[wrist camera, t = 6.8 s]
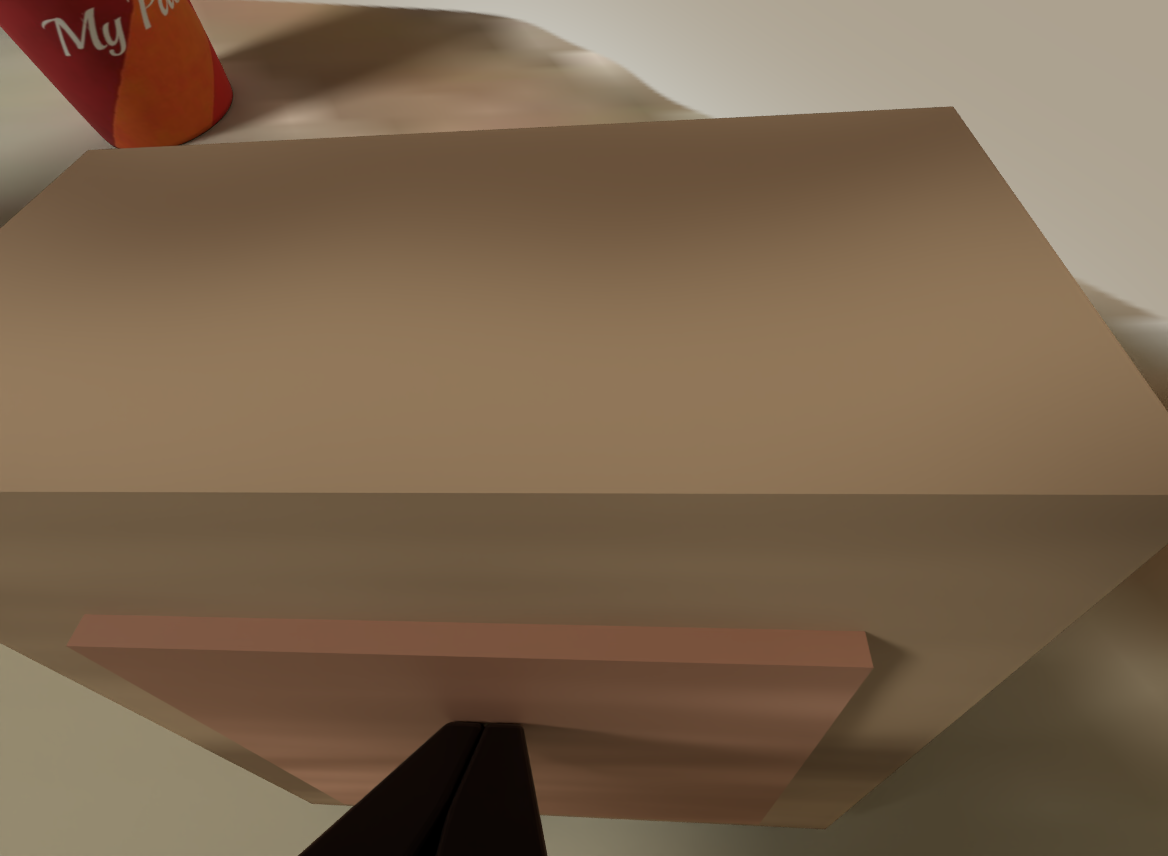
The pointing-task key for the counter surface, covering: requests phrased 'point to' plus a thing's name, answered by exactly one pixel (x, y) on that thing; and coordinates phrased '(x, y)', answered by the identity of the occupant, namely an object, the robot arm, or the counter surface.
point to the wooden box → (562, 451)
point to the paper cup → (126, 65)
